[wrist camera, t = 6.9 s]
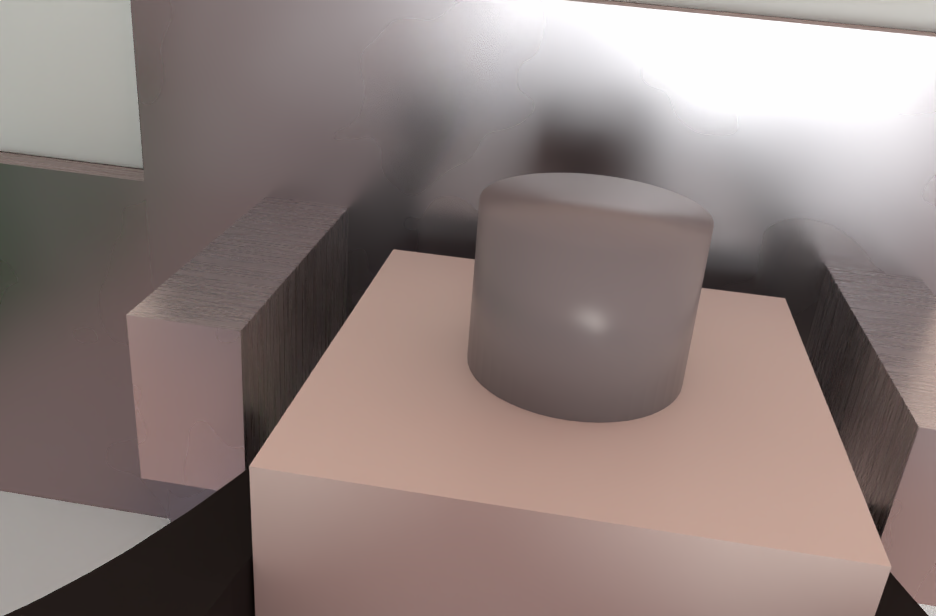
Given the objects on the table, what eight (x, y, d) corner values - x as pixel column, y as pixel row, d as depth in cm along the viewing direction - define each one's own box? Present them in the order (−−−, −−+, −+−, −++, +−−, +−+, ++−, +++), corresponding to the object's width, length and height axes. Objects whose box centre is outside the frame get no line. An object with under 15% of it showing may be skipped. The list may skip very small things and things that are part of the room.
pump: (710, 604, 13) (754, 963, 9) (382, 550, 14) (266, 861, 9) (817, 165, 10) (960, 368, 6) (398, 120, 11) (241, 273, 7)
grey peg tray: (782, 734, 16) (838, 1017, 12) (-108, 575, 18) (-323, 775, 14) (1006, 39, 11) (1237, 122, 7) (-273, -87, 13) (-692, -80, 9)
